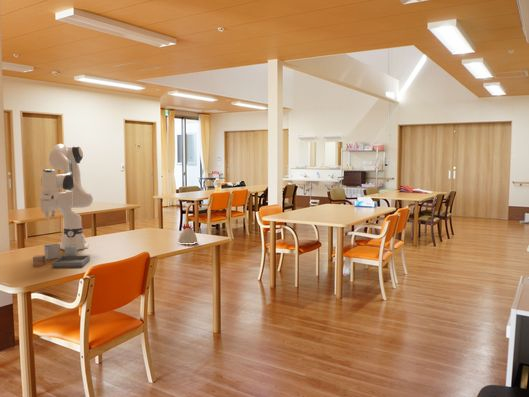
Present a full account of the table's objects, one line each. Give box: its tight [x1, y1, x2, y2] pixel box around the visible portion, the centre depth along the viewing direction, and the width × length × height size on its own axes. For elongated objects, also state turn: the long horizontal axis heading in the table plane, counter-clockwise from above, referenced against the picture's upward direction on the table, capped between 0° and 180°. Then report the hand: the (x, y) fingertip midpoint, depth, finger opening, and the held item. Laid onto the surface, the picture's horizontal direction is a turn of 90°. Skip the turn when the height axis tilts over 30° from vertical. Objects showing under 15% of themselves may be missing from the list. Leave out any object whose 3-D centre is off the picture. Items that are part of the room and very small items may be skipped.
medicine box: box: [43, 242, 61, 260], centre depth 283 cm, size 8×4×9 cm, turn 141°
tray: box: [51, 255, 91, 269], centre depth 268 cm, size 18×16×3 cm
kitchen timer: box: [177, 223, 198, 243], centre depth 337 cm, size 14×14×15 cm
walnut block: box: [32, 254, 46, 267], centre depth 266 cm, size 5×5×5 cm
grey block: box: [64, 245, 78, 256], centre depth 280 cm, size 7×7×8 cm
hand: (50, 218), depth 279 cm, fingers open, 8 cm apart
